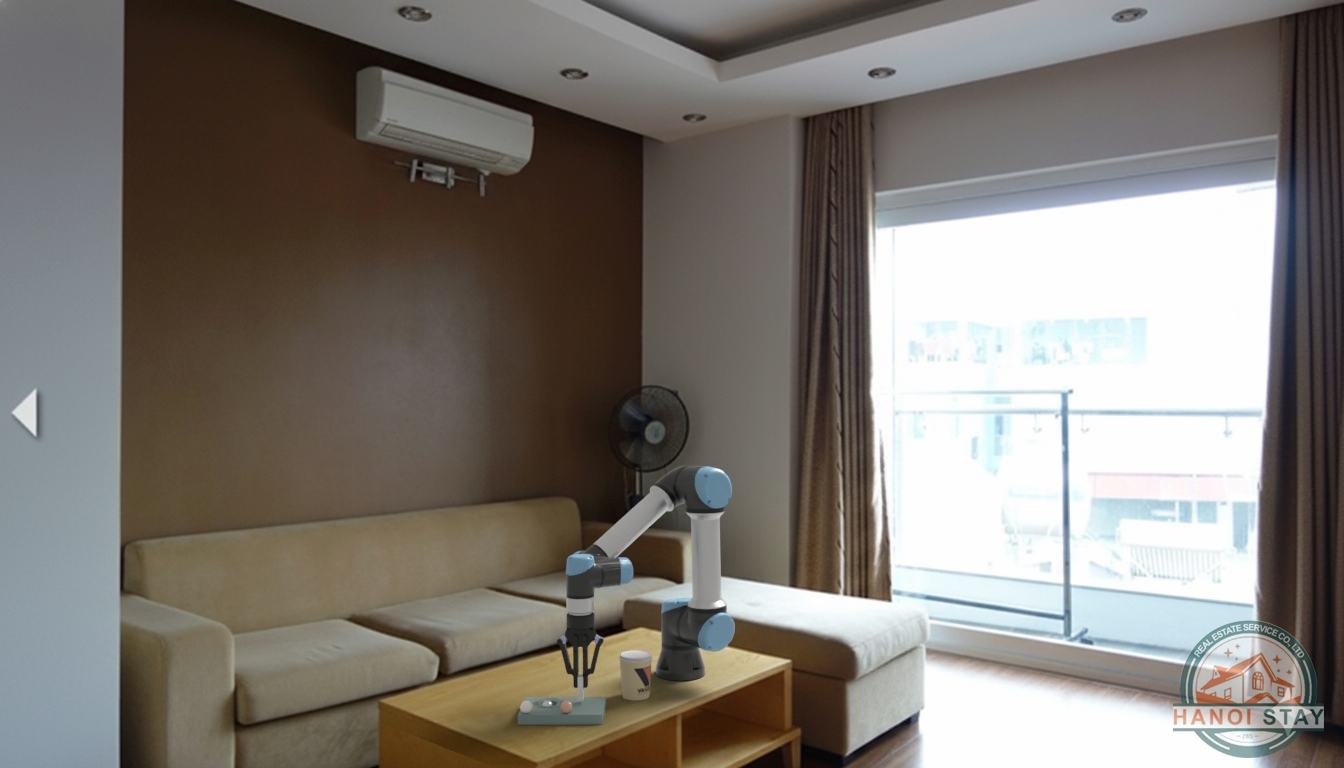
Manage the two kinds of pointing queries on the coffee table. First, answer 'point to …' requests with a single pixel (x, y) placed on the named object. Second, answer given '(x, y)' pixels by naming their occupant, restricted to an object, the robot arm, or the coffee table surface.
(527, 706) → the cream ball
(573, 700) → the board
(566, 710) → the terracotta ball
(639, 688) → the coffee cup
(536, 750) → the coffee table surface
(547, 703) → the steel ball
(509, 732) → the coffee table surface
